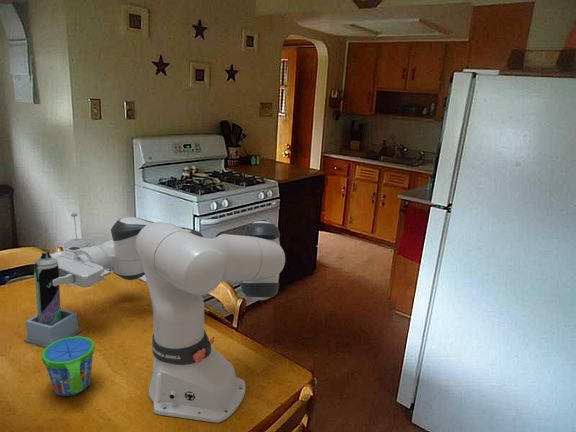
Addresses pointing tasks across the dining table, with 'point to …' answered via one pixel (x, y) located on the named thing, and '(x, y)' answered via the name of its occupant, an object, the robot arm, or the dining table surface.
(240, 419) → the dining table surface
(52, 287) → the spray can
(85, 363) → the snack cup
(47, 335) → the collar stand
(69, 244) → the french press
